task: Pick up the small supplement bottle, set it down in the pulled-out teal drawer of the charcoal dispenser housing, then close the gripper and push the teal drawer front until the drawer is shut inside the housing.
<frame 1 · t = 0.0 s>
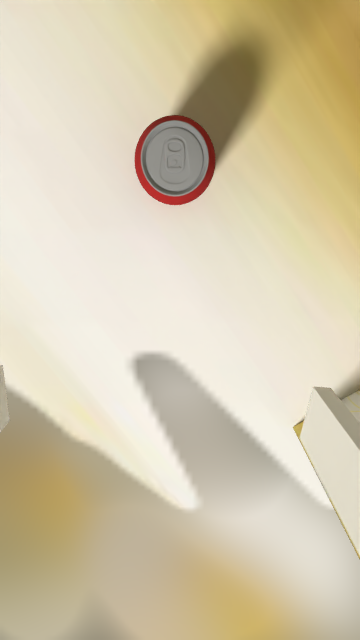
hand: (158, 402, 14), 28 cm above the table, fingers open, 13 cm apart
beverage can: (175, 172, 36), on the table
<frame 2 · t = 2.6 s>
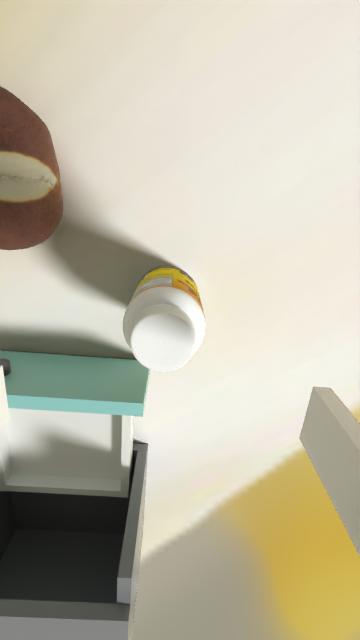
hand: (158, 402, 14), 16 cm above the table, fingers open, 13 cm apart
supplement bottle: (167, 294, 28), on the table
teal drawer: (60, 434, 29), point 4 cm above the table, slide at 9.0 cm
housing: (76, 487, 36), on the table
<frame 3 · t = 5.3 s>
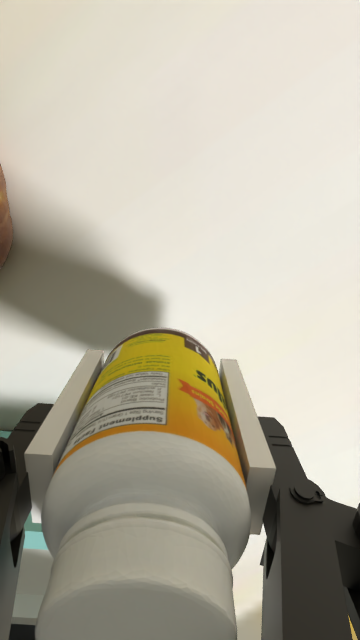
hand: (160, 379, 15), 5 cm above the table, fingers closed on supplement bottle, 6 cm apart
supplement bottle: (161, 371, 16), point 4 cm above the table, touching gripper
teal drawer: (15, 551, 20), point 4 cm above the table, slide at 9.0 cm
housing: (47, 596, 27), on the table
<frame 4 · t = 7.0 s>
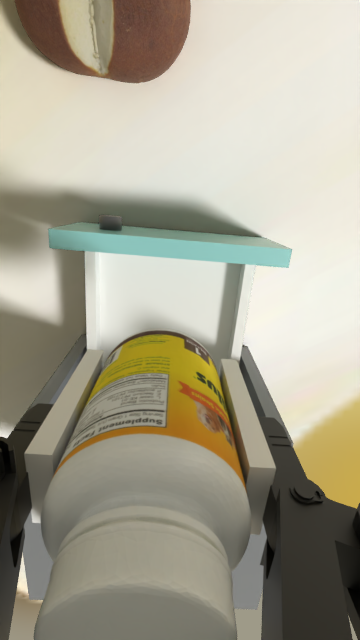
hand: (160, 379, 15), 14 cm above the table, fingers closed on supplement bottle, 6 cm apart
supplement bottle: (161, 373, 16), point 14 cm above the table, touching gripper
teal drawer: (166, 316, 26), point 4 cm above the table, slide at 9.0 cm
housing: (160, 401, 33), on the table
when the fingers open (3 cm above the table, at t = 8.9 s): supplement bottle stays where it is, resting on teal drawer.
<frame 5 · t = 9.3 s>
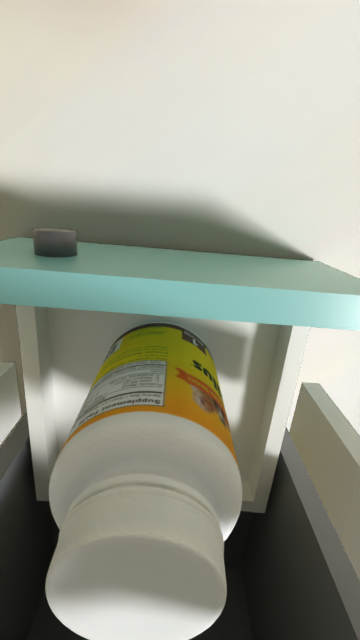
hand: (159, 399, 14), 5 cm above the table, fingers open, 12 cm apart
supplement bottle: (160, 364, 16), point 2 cm above the table, touching teal drawer
teal drawer: (159, 394, 15), point 4 cm above the table, slide at 9.0 cm, touching supplement bottle
housing: (153, 493, 23), on the table
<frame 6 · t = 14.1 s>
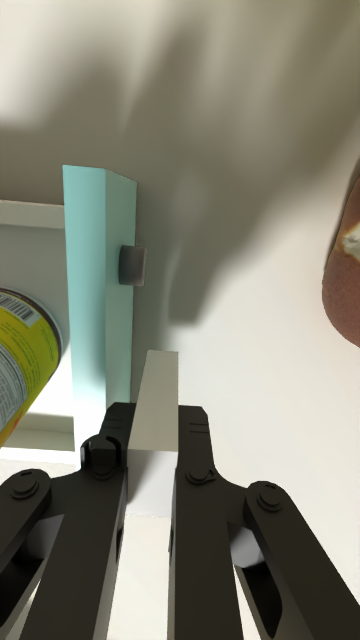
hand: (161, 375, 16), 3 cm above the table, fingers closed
supplement bottle: (14, 335, 16), point 2 cm above the table, touching teal drawer
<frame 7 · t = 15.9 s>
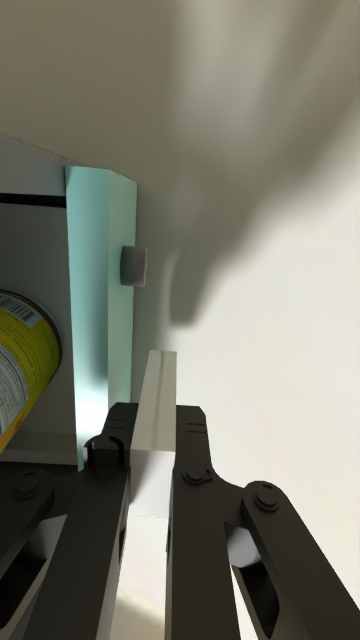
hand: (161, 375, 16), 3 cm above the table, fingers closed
supplement bottle: (14, 336, 16), point 2 cm above the table, touching teal drawer
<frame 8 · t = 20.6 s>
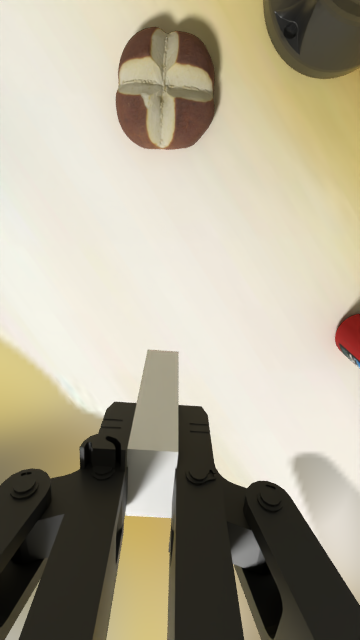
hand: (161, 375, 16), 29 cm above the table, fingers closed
beverage can: (354, 332, 47), on the table
bread: (167, 99, 37), on the table
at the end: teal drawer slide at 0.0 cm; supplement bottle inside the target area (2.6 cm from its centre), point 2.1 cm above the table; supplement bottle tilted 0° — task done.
